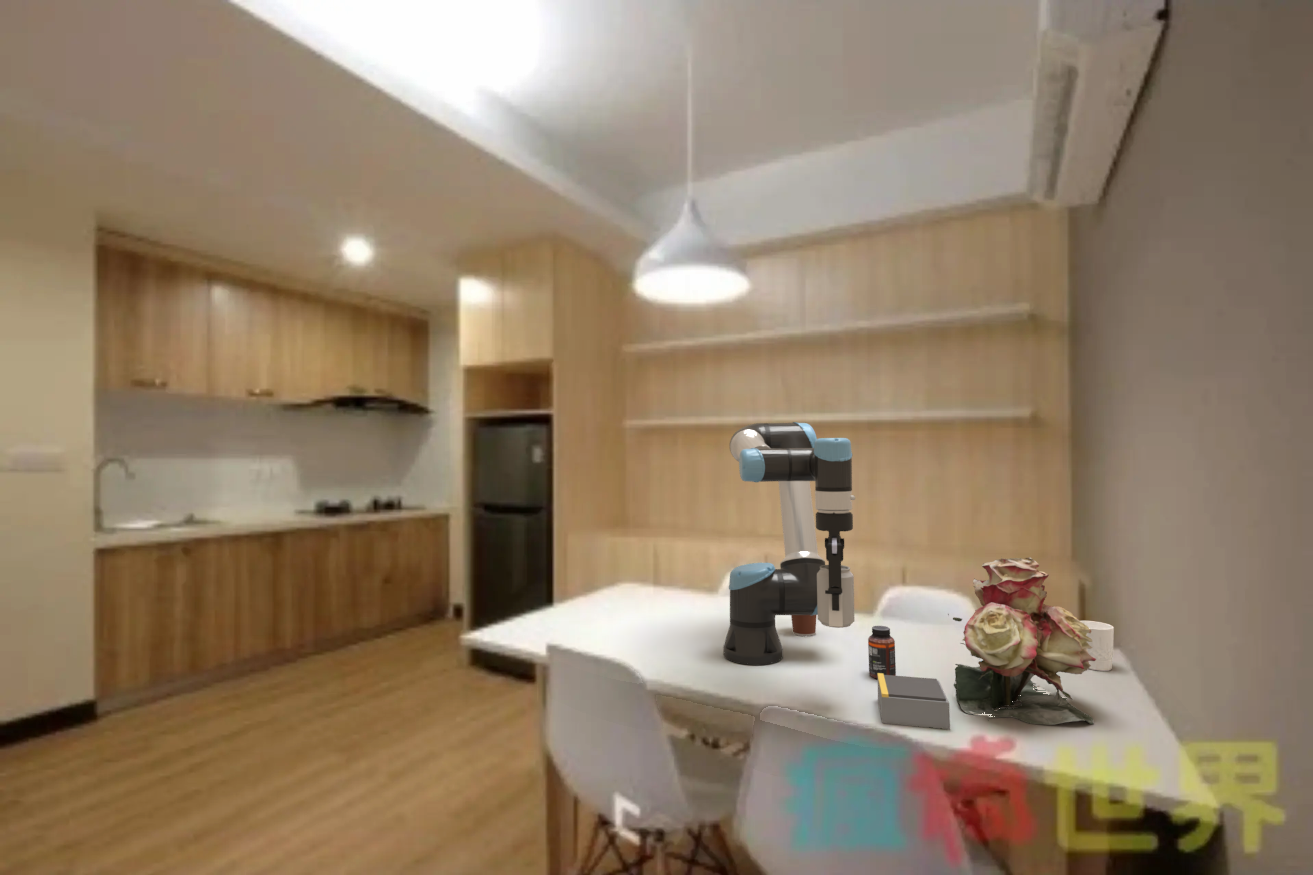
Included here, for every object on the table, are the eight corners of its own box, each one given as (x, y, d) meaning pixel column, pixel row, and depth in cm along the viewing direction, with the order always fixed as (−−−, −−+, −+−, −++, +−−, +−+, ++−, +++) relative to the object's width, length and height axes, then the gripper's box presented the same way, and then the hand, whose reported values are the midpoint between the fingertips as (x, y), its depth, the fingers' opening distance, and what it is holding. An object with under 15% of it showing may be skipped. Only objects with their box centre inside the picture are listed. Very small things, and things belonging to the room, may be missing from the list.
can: (850, 619, 136) (849, 563, 137) (858, 629, 129) (856, 569, 129) (815, 618, 137) (814, 563, 138) (820, 628, 130) (819, 569, 130)
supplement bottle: (895, 673, 150) (894, 625, 151) (896, 682, 145) (895, 632, 145) (868, 670, 152) (868, 623, 153) (868, 679, 147) (867, 629, 147)
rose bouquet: (962, 722, 123) (958, 566, 124) (948, 673, 150) (945, 545, 151) (1120, 741, 114) (1115, 574, 115) (1074, 685, 142) (1070, 550, 142)
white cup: (1117, 665, 154) (1116, 624, 154) (1112, 674, 148) (1110, 631, 148) (1078, 658, 159) (1077, 618, 160) (1072, 666, 154) (1071, 625, 154)
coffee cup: (787, 628, 190) (786, 588, 190) (818, 629, 188) (817, 588, 189) (789, 637, 181) (788, 594, 181) (822, 638, 179) (821, 595, 180)
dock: (882, 722, 123) (881, 693, 123) (877, 699, 135) (877, 672, 135) (949, 729, 120) (949, 699, 120) (939, 704, 131) (938, 677, 132)
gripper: (853, 516, 123) (856, 635, 122) (851, 507, 143) (853, 610, 142) (813, 515, 125) (815, 632, 124) (817, 507, 145) (818, 608, 144)
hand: (835, 620), depth 133 cm, fingers closed on can, 7 cm apart
